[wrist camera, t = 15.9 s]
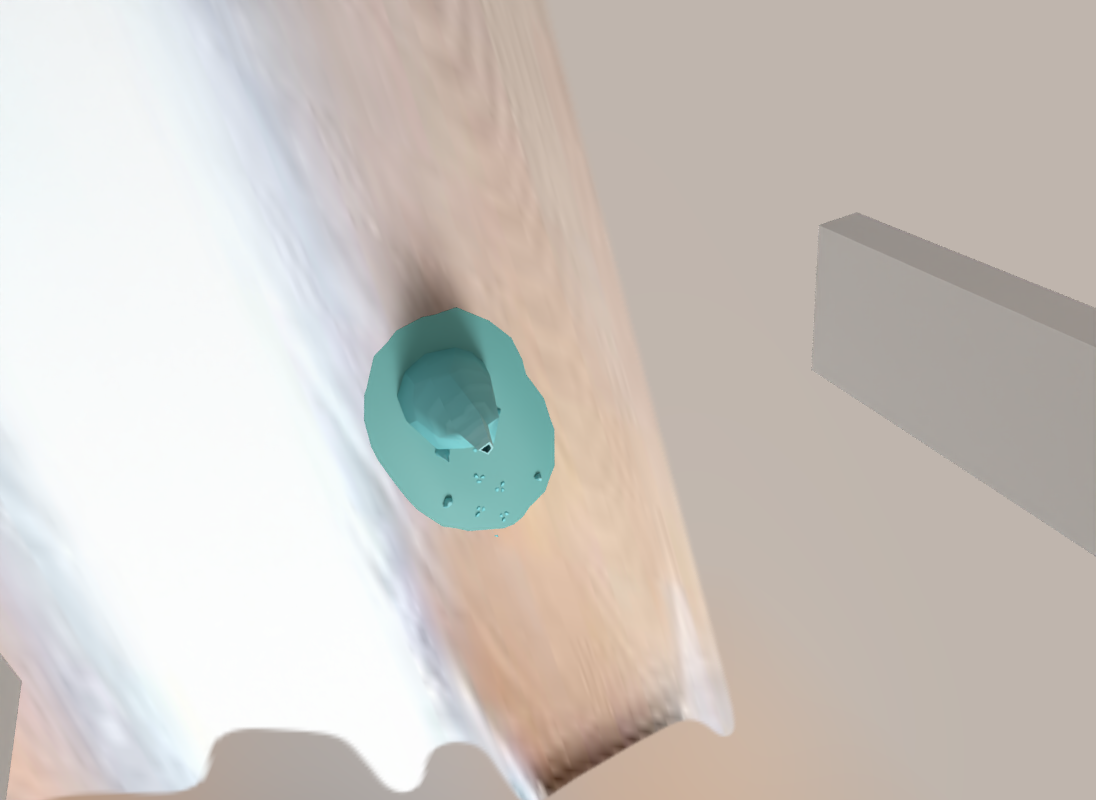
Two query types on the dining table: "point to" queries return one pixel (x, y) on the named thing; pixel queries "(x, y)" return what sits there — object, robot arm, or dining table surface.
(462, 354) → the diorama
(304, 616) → the dining table surface
